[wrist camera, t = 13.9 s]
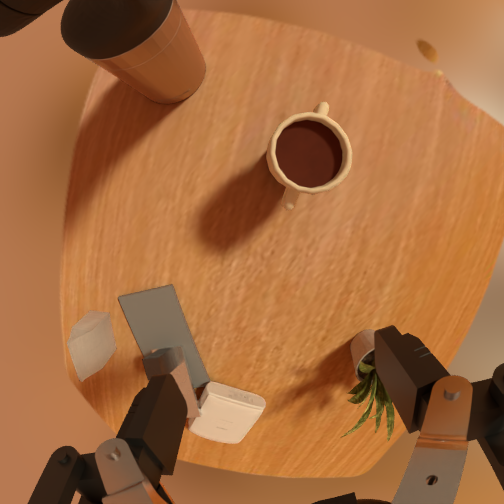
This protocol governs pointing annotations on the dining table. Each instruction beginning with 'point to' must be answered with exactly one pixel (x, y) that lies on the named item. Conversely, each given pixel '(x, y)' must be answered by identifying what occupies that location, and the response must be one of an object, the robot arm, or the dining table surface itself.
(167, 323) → the mat
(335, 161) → the character mug
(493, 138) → the dining table surface
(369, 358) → the house plant
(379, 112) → the dining table surface
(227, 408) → the photo printer
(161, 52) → the robot arm
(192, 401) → the grey l-shaped piece
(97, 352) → the tea bag
